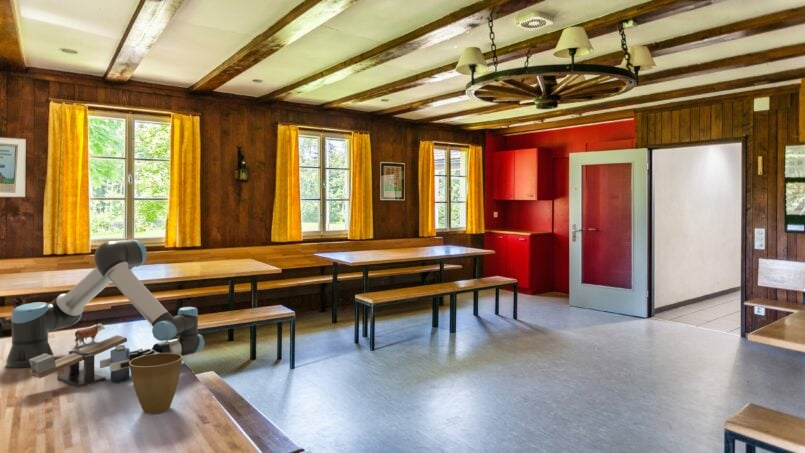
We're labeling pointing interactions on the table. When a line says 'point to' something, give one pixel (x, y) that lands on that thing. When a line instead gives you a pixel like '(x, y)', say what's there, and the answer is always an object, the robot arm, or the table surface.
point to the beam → (70, 357)
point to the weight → (116, 356)
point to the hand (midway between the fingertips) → (105, 366)
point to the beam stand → (82, 373)
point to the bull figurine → (88, 333)
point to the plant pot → (156, 380)
